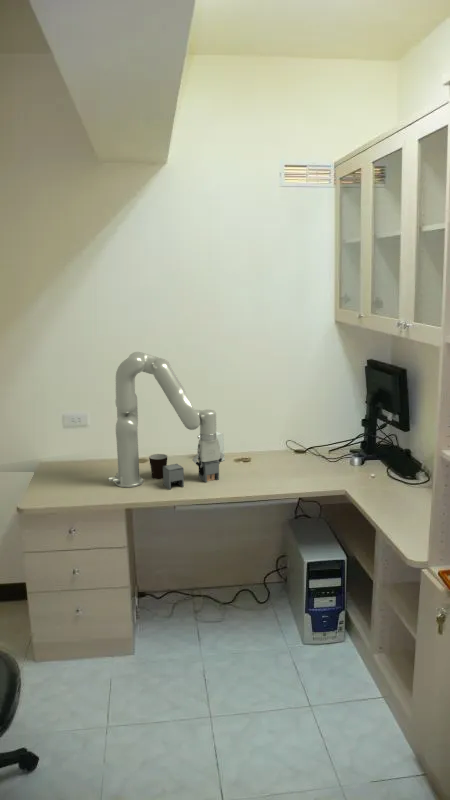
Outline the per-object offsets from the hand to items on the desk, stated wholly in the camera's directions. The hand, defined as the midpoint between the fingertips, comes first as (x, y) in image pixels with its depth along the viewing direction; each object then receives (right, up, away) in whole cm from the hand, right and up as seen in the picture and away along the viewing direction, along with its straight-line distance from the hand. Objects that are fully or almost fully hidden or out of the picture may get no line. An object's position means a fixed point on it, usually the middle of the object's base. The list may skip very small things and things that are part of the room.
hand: (208, 473), depth 271 cm
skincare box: (+2, +3, +29) cm, 29 cm away
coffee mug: (-23, -2, +6) cm, 24 cm away
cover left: (-16, -5, -8) cm, 18 cm away
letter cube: (0, -3, +1) cm, 3 cm away
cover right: (0, -3, +1) cm, 3 cm away
